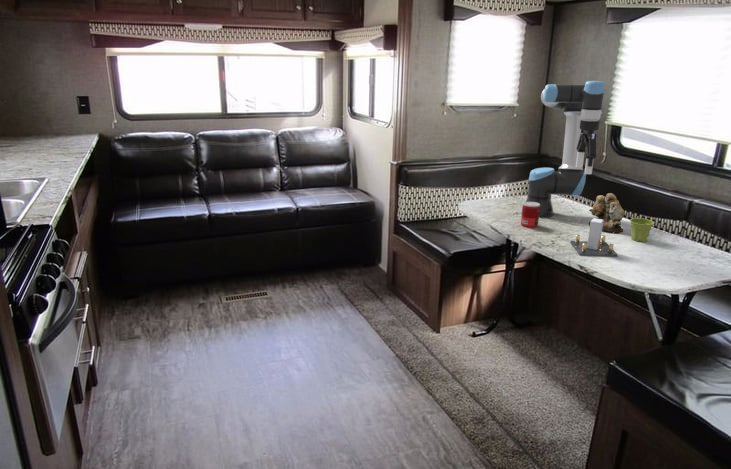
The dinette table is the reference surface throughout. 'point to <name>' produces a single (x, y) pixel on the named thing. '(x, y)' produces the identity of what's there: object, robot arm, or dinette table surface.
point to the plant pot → (640, 229)
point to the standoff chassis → (601, 251)
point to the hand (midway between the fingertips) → (583, 170)
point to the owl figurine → (608, 213)
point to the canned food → (530, 214)
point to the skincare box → (595, 233)
